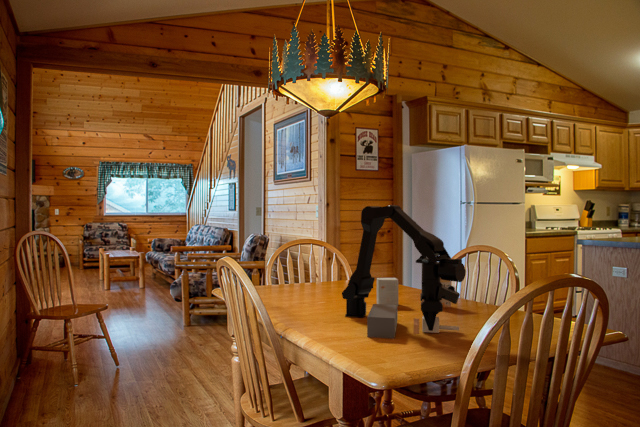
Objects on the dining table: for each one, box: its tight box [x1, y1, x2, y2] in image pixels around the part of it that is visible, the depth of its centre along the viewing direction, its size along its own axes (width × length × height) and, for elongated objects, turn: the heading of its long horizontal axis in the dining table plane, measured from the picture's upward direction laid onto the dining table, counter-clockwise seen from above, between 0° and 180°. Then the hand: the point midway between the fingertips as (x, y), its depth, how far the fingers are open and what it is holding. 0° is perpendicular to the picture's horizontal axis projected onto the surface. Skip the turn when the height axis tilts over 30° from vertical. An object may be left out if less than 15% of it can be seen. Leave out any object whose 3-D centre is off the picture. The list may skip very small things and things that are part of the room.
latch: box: [413, 318, 420, 335], centre depth 140 cm, size 2×8×3 cm, turn 168°
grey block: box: [366, 303, 399, 339], centre depth 151 cm, size 8×20×6 cm, turn 169°
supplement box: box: [440, 279, 452, 309], centre depth 187 cm, size 8×5×13 cm, turn 105°
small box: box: [376, 277, 399, 307], centre depth 190 cm, size 8×6×10 cm
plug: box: [421, 315, 460, 334], centre depth 148 cm, size 11×4×4 cm, turn 79°
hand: (430, 328), depth 148 cm, fingers closed on plug, 4 cm apart
